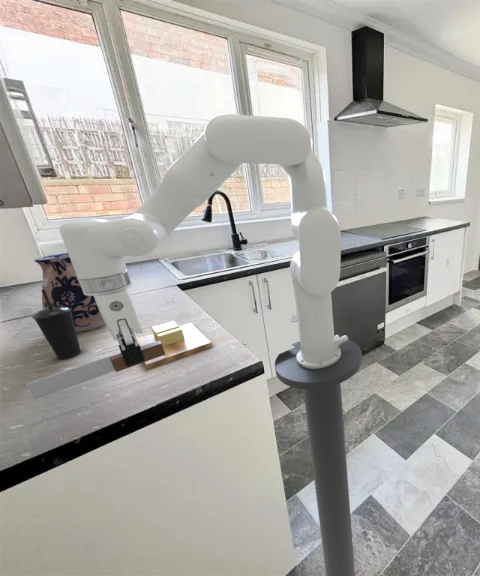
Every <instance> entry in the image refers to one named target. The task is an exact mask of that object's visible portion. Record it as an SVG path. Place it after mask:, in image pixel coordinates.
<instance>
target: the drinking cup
mask: <svg viewBox="0 0 480 576" xmlns="http://www.w3.org/2000/svg"><path fill="white" fill-rule="evenodd" d="M42 293H43V296H44V298H45V301H46V303H47V305H48V308H45V309H43V308H42V309H40V310H39V311H37V312H35V313H33V314H32V315H31V318H32V319H33V320H34V321H35V322H36V324H37V326H38V327H39V329H40V331H41V332H42V335H43V336H44V338H45V339H46V341H47V342H48V344H49V346H50V347H51V349H52V351H53V353H54V354H55V357H56V358H57V359H58V360H66V359H67V360H68V359H71V358H74V357H76V356H79V355H80V354H81V353H82V350H81V346H80V342H79V337H78V334H77V333H78V332H76V329H75V325H74V321H73V317H72V313H71V310H72V308H71V307H68V306H53V307H52V306H51V303H50V301H49V298H48V296H47V294H46V291H45V290H42V289H41V294H42Z"/></svg>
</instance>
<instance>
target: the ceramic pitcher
mask: <svg viewBox="0 0 480 576" xmlns="http://www.w3.org/2000/svg"><path fill="white" fill-rule="evenodd" d="M33 261H34V262H35V263H36V264H38V265H39V266H40V267H41V268H40V269H41V270H42V271H41V272H42V284H41V287H42V288H41V290H45V291H46V294H47V296H48V298H49V301H50V303H51V306H52V307H53V306H68V307H71V308H72V310H71V313H72V317H73V321H74V325H75V329H76V333H78V332H85V331H91V330H95V329H98V328H100V327H103V326H105V325H106V324H105V322H104V320H103V318H102V316H101V313H100V311H99V309H98V306H97V304H96V301H95V298H94V296H87V295H84V293H83V290H82V288H81V285H80V283H79V280H78V277H77V275H76V272H75V270H74V267H73V265H72V262H71V259H70V257H69V254H68V252H64V253H59V254H51V255H47V256H42V257H38V258H35V259H34V260H33ZM41 305H42V309H45V308H48V305H47V303H46V301H45V298H44V296H43V293H42V292H41Z"/></svg>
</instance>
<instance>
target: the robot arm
mask: <svg viewBox="0 0 480 576" xmlns="http://www.w3.org/2000/svg"><path fill="white" fill-rule="evenodd" d="M312 149H313V139H312V136H311V134H310V132H309V130H308V128H306V126H304V124H302V123H301V122H300V121H298V120H295V119H293V118H288V117H280V116H279V117H276V116H262V115H261V116H260V115H250V114H248V115H247V114H237V113H236V114H235V113H221V114H216V115H215V116H212V117H211V118H210V119H209V120H208V122H206V125H205V127H204V131H203V132H202V134H201V135H199V137H197V139H195V140H194V142H193V143H192V144H191V145H190V146H189V147H188V148H187V149H186V150H185V151H184V152H183V153H182V154H181V155H180V156H179V157H177V159H176V160H175V161H174V162H172V164H171V165H169V167H168V168H167V169H166V171H165V172H164V175H163V177H162V179H161V182H160V184H159V185H158V186H157V188H156V189H155V191H154V192H153V193H152V194H151V196H149V197H148V198H147V200H145V202H143V204H141V205H140V207H138V208H137V209H136V210H135V211H134V212H133V214H131V215H129V216H126V217H123V218H118V219H113V220H107V219H104V218H103V219H102V218H91V219H90V218H89V219H78V220H71V221H67V222H64V223H62V224H61V225H60V226H59V234H60V236H61V239H62V242H63V244H64V247H65V249H66V251H67V252H66V253H68V254H69V257H70V259H71V262H72V265H73V267H74V270H75V272H76V275H77V277H78V280H79V283H80V285H81V288H82V290H83V293H84V295H87V296H94V298H95V301H96V304H97V306H98V309H99V311H100V313H101V316H102V318H103V320H104V322H105V324H104V325H105V327H106V328H107V330H108V332H109V333H110V335H111V336H112V338H113V340H115V341H117V342H118V348H119V351H120V353H122V355H123V358H124V361H125V364H126V366H127V367H129V366H132V365H135V364H138V363H140V362H143V361H144V360H145V359H144V356H143V354H142V351H141V348H140V345H139V344H138V342H137V340H136V339H137V336H136V334H142V333H143V332H144V330H143V327H142V324H141V321H140V319H139V315H138V314H137V311H136V308H135V305H134V303H133V299H132V297H131V295H130V292H129V290H128V289H130V288H131V287H132V286H133V284H132V281H131V277H130V274H129V271H128V268H127V265H126V262H125V259H124V257H142V256H147V255H150V254H152V253H154V252H155V251H156V250H157V249H158V248H159V246H160V245H162V243H164V241H165V240H166V239H167V238H168V237H169V236H170V235H171V234H172V233H173V232H174V231H175V229H177V228H178V227H179V226H180V225H181V224H182V223H183V222H184V221H185V219H186V218H187V217H188V216H190V214H191V213H192V212H194V211H195V210H196V209H198V208H199V207H200V206H203V205H204V203H205V202H207V201H208V200H209V199H210V198H211V197H212V196H213V194H214V193H215V192H216V191H217V190H219V188H221V186H222V185H223V184H224V183H225V182H226V181H227V180H228V179H229V178H230V177H231V176H232V175H233V174H234V173H235V172H236V171H237V170H238V169H239V168H240V167H241V165H243V164H259V165H262V164H263V165H278V166H280V167H281V168H282V169H283V170H284V172H285V173H286V175H287V177H288V181H289V182H288V183H289V189H290V207H291V214H290V215H291V216H290V217H291V218H290V227H291V232H292V235H293V236H294V237H295V238H296V240H298V242H299V243H298V244H299V250H298V251H297V252H295V253H294V255H293V256H292V258H291V260H290V265H289V272H290V279H291V284H292V289H293V293H294V300H295V309H296V318H297V325H298V326H297V327H298V334H299V341H300V344H301V350H300V351H299V352H298V353H297V356H296V358H297V362H298V364H299V365H301V366H303V367H305V368H310V369H318V368H324V367H328V366H330V365H332V364H334V363H336V362H337V361H338V360H339V359H340V357H341V350H340V348H339V347H338V346H340V344H341V343H344V342H346V341H348V340H349V337H348V336H347V335H346V334H344V335H342V336H340V335H339V334H336V335H335V328H334V315H333V301H332V292H333V291H334V290H335V289H336V287H337V286H338V284H339V281H340V277H341V262H342V261H341V260H342V258H341V256H342V233H341V228H340V223H339V221H338V219H337V218H336V216H335V215H334V214H333V213H332V212H331V211H330V210H328V196H327V181H326V180H327V179H326V175H325V171H324V168H323V165H322V163H321V162H320V159H319V158H318V156H317V155H316V154H315V152H314V151H313V150H312ZM339 337H340V338H339ZM143 363H144V362H143ZM140 364H141V363H140ZM138 365H139V364H138ZM135 366H136V365H135ZM132 367H133V366H132ZM129 368H130V367H129Z"/></svg>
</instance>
